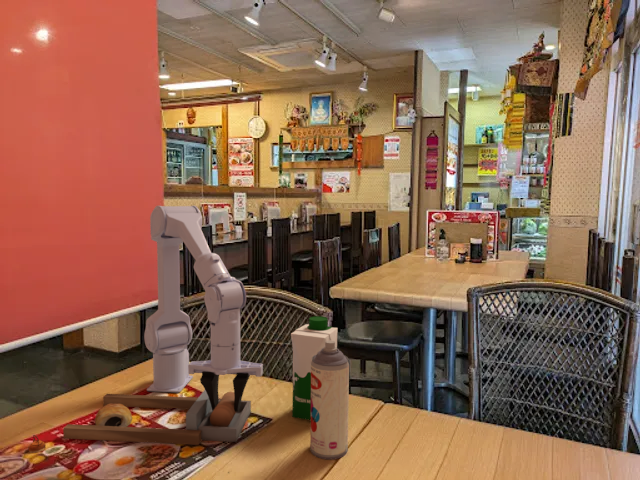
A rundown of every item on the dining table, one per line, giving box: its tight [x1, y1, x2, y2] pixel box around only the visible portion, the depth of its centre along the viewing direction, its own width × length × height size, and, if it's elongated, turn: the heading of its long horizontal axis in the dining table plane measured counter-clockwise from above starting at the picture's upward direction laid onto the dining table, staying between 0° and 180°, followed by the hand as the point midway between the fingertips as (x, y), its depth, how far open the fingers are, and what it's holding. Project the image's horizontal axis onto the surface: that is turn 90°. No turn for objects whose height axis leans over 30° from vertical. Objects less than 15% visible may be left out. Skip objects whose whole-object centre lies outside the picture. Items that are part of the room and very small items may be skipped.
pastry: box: [94, 404, 133, 427], centre depth 94 cm, size 9×7×4 cm
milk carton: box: [290, 315, 338, 421], centre depth 98 cm, size 9×9×20 cm
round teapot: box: [27, 434, 46, 454], centre depth 84 cm, size 3×3×3 cm
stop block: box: [185, 389, 212, 430], centre depth 93 cm, size 12×2×5 cm, turn 176°
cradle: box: [198, 400, 252, 443], centre depth 93 cm, size 12×7×2 cm, turn 176°
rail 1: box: [102, 393, 221, 410], centre depth 101 cm, size 2×26×2 cm, turn 86°
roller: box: [210, 391, 236, 427], centre depth 92 cm, size 8×4×4 cm, turn 176°
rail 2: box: [62, 423, 202, 446], centre depth 87 cm, size 2×26×2 cm, turn 86°
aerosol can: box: [309, 340, 350, 460], centre depth 84 cm, size 7×7×20 cm
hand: (226, 408), depth 93 cm, fingers closed on roller, 4 cm apart
